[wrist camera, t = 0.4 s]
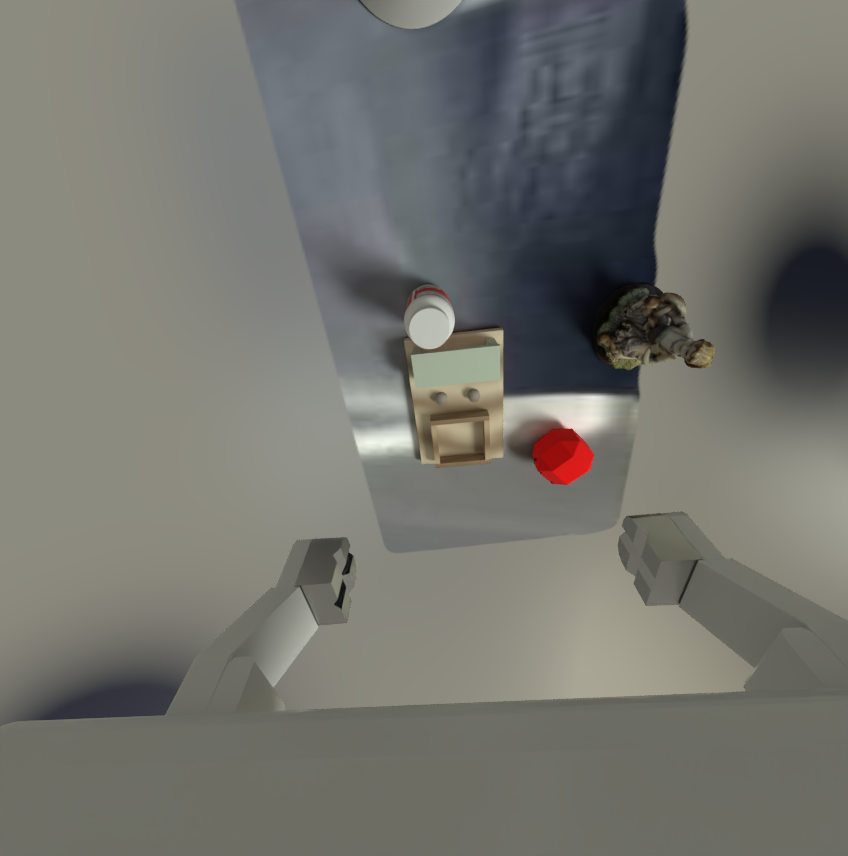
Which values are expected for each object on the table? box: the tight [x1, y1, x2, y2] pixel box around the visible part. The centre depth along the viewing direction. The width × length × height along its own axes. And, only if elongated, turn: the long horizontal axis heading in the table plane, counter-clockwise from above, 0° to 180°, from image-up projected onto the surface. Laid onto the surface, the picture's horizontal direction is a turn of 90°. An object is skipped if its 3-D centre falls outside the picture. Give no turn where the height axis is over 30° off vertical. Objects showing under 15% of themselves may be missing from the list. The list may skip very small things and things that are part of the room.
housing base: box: [404, 328, 503, 468], centre depth 56 cm, size 22×14×3 cm, turn 7°
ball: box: [532, 429, 594, 485], centre depth 58 cm, size 8×8×8 cm
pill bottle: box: [404, 284, 455, 349], centre depth 45 cm, size 6×6×11 cm
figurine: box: [593, 283, 715, 370], centre depth 45 cm, size 12×11×15 cm
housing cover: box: [411, 338, 500, 388], centre depth 51 cm, size 5×12×3 cm, turn 97°
